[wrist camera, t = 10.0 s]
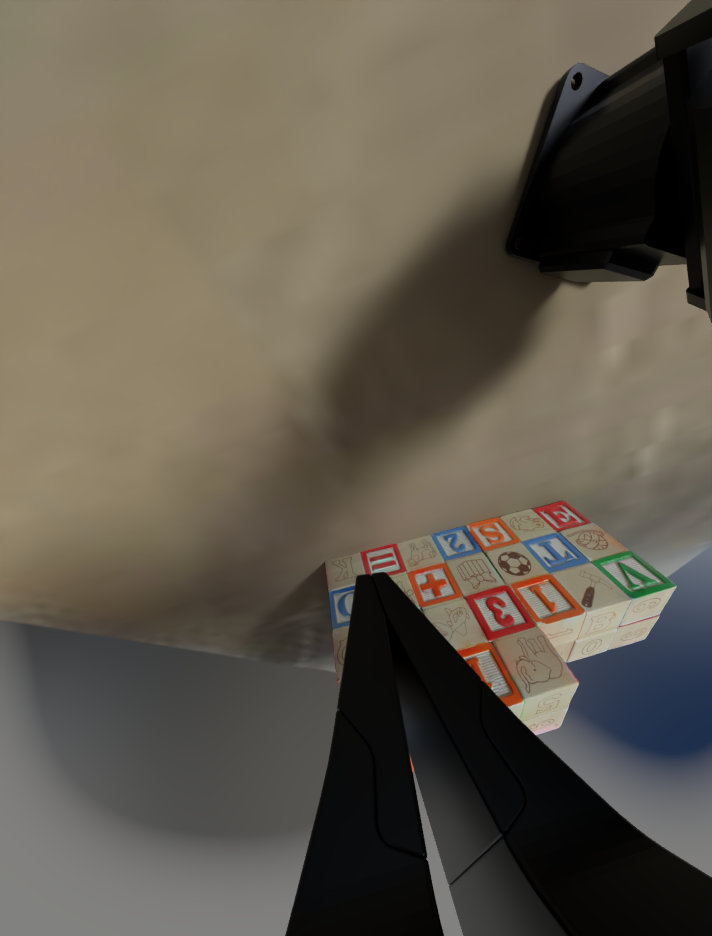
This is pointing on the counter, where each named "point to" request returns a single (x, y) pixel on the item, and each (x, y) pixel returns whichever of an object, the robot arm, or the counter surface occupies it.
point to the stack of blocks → (516, 600)
